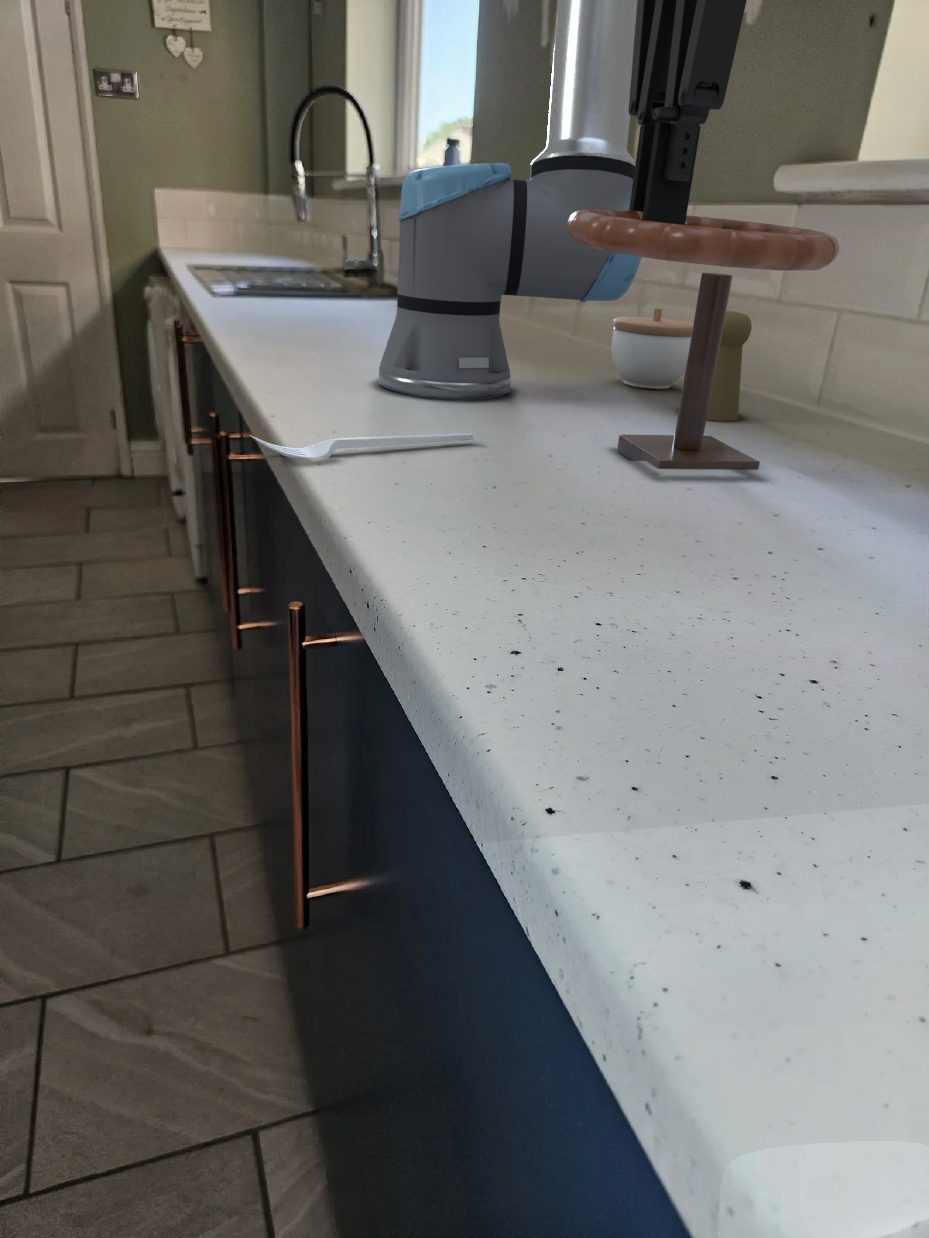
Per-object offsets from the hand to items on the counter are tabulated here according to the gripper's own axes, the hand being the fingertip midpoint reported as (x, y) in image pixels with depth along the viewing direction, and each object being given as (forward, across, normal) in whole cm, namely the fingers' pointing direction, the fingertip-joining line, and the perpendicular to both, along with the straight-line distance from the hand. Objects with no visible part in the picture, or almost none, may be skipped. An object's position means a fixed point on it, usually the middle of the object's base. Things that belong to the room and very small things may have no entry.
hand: (653, 236), depth 58 cm
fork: (+18, -12, -17) cm, 28 cm away
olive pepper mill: (+19, -30, +22) cm, 42 cm away
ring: (0, +7, 0) cm, 7 cm away
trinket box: (+19, -48, +22) cm, 56 cm away
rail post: (+18, -9, +10) cm, 22 cm away
